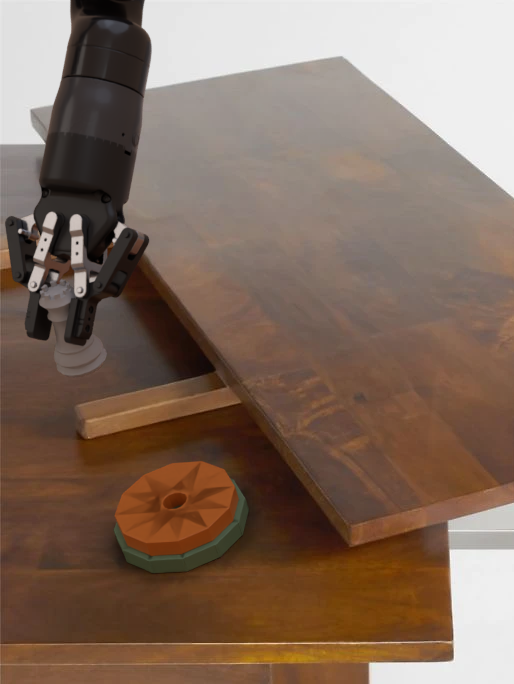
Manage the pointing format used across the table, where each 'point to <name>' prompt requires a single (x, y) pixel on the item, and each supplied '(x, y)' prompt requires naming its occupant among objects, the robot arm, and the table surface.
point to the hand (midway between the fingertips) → (56, 340)
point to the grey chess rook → (66, 355)
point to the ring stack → (180, 517)
